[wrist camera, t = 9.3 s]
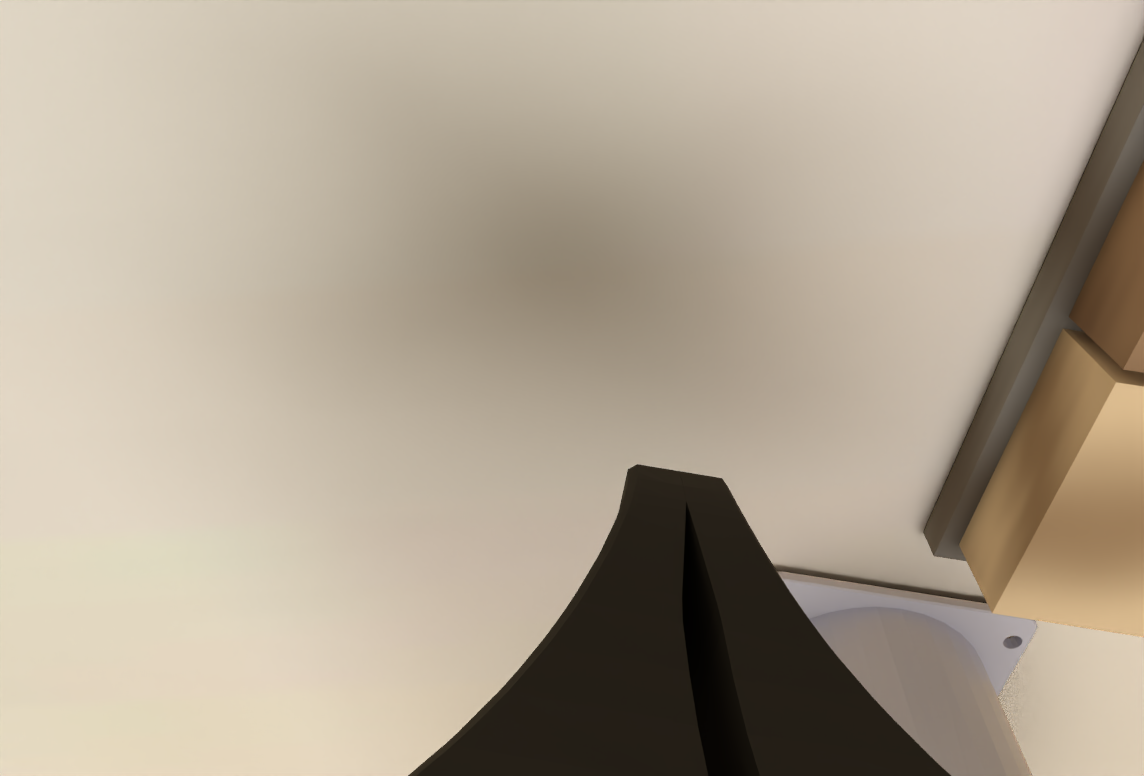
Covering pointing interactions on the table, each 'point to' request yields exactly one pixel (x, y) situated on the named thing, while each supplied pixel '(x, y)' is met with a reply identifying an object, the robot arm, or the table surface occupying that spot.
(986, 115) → the table surface
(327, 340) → the table surface
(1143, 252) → the wooden board with knob
